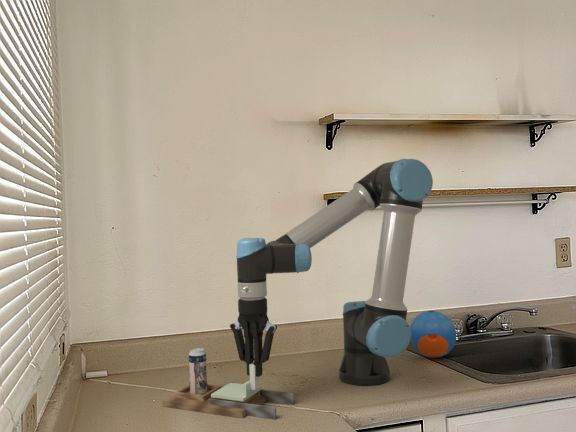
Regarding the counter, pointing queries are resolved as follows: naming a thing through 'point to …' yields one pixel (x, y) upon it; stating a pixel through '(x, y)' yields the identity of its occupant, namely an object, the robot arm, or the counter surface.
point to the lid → (235, 392)
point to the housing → (228, 403)
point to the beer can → (198, 371)
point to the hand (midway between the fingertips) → (255, 388)
